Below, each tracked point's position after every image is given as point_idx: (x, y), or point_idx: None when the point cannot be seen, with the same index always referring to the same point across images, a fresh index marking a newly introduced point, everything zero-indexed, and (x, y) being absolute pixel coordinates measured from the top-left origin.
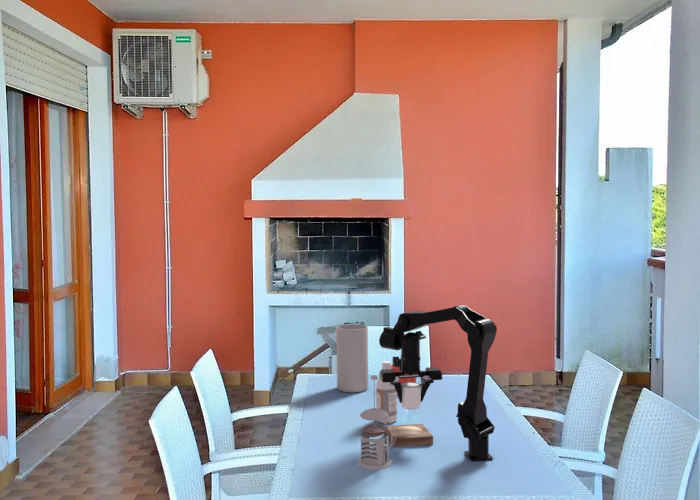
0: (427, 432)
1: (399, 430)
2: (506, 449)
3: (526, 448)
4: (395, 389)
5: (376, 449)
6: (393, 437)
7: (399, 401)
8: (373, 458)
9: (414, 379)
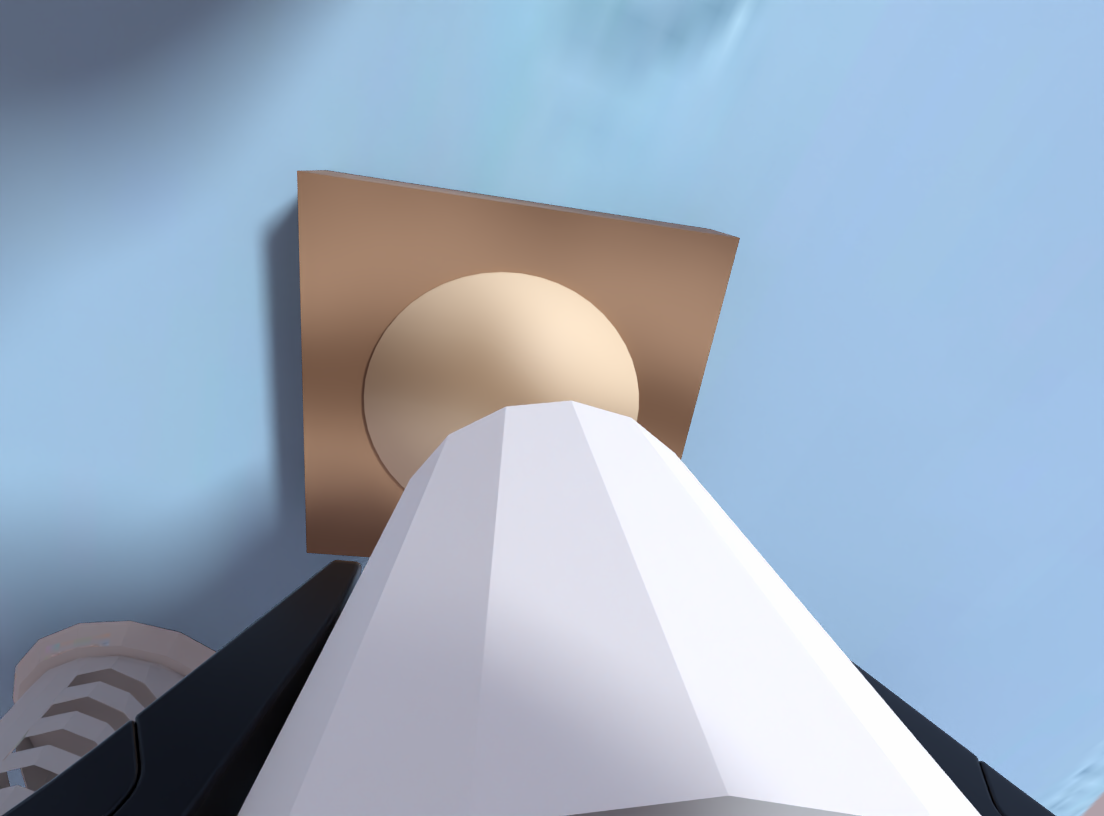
0: None
1: (410, 382)
2: (988, 695)
3: (1090, 704)
4: (55, 785)
5: (121, 694)
6: (306, 523)
7: (328, 567)
8: (112, 725)
9: None
